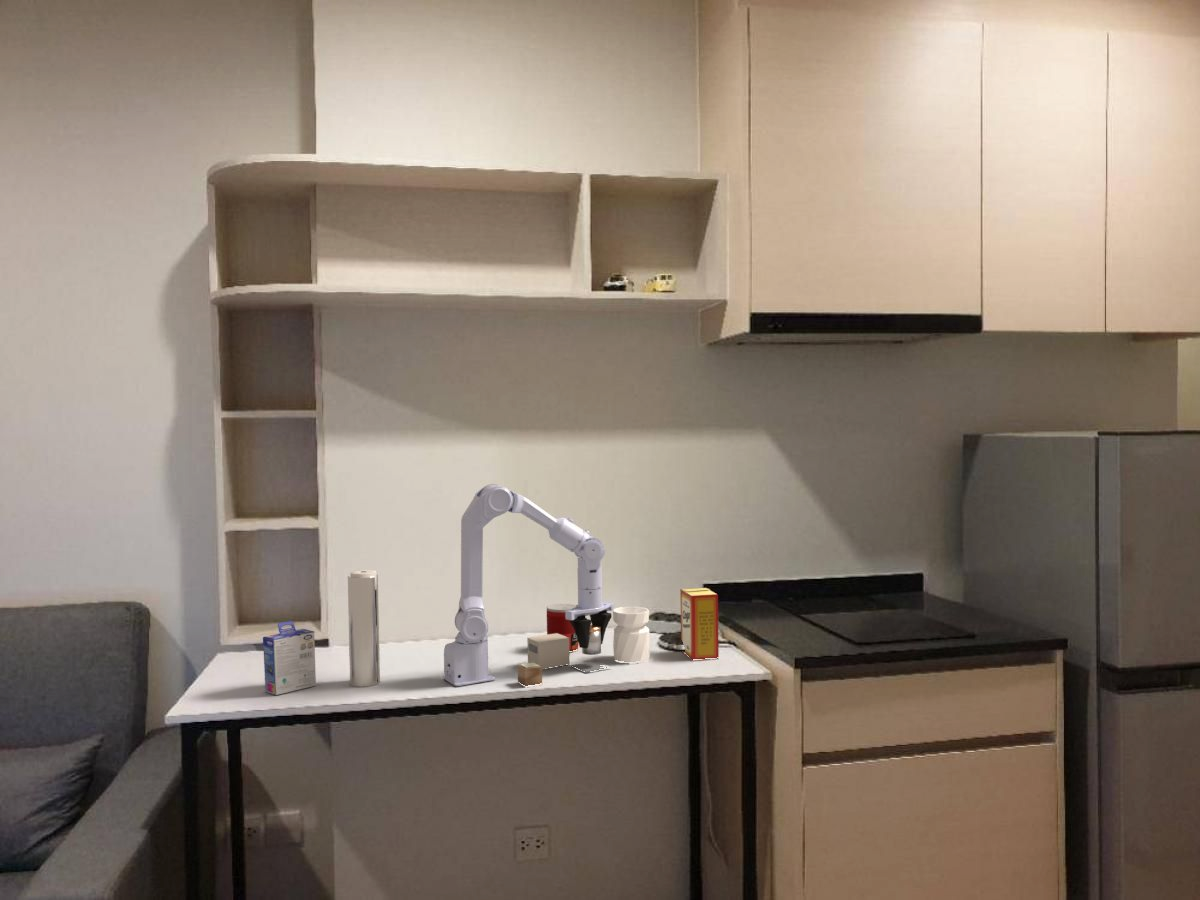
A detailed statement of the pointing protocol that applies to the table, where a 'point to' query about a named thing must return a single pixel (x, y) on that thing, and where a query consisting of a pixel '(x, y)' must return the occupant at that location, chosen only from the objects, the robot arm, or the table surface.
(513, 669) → the table surface
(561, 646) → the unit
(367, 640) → the beige tall cylinder
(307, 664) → the ink cartridge box
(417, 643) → the table surface
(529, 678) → the walnut block
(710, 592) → the red and yellow box
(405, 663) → the table surface
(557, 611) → the canned food
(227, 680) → the table surface
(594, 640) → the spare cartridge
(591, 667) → the pad
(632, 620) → the white faceted vase
